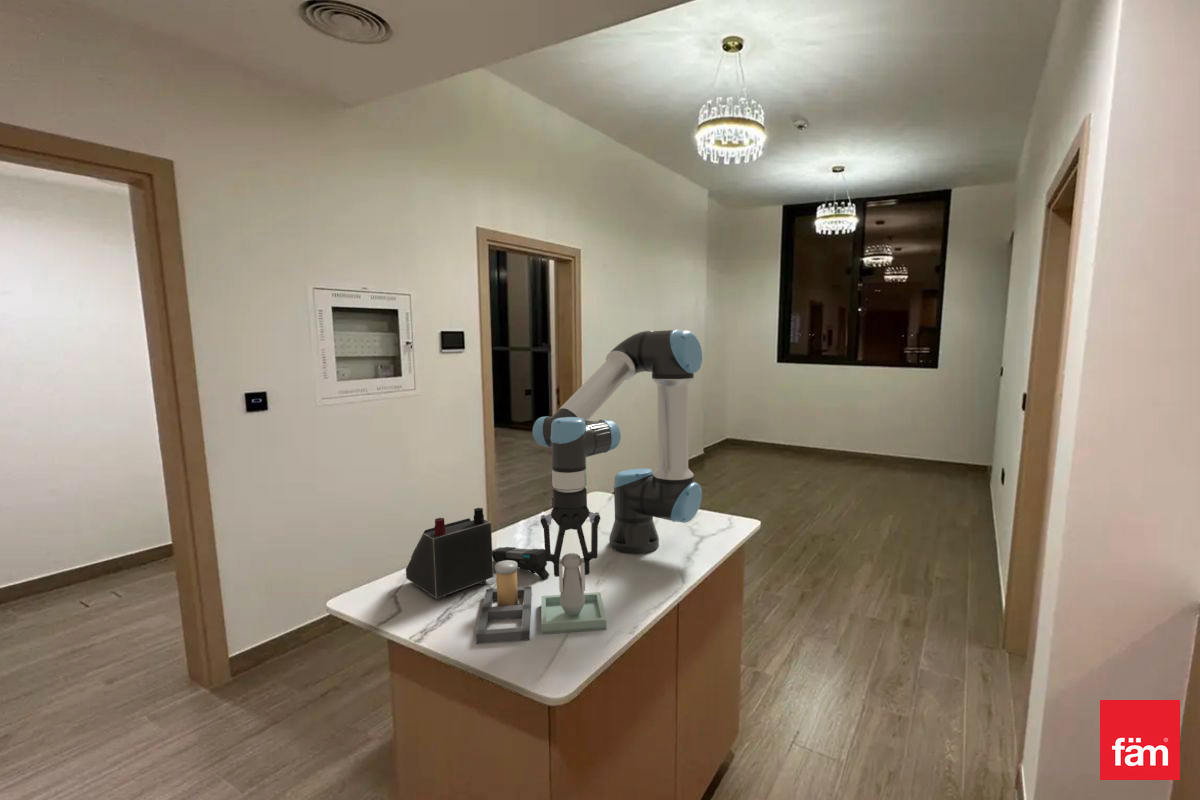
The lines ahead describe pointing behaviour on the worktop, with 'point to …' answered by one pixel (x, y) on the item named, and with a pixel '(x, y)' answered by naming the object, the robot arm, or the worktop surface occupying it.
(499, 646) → the worktop surface
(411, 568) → the voltmeter
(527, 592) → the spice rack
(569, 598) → the salt shaker
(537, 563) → the gun
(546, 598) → the tray
